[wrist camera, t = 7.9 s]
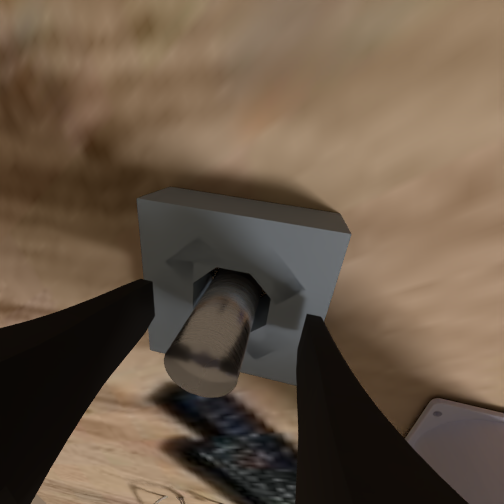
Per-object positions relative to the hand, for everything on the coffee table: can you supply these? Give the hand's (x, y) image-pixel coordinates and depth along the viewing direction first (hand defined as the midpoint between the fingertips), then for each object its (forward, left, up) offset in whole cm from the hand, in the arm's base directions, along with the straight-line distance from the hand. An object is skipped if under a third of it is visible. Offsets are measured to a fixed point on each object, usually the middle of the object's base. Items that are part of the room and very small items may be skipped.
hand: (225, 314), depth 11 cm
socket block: (0, 0, -4) cm, 4 cm away
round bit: (0, 0, -4) cm, 4 cm away
